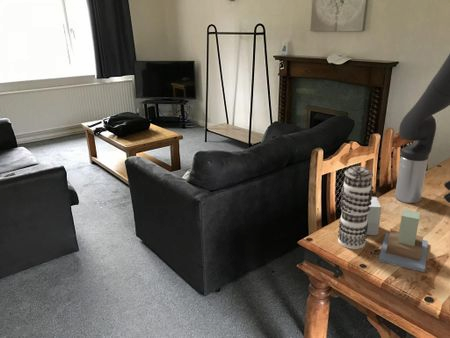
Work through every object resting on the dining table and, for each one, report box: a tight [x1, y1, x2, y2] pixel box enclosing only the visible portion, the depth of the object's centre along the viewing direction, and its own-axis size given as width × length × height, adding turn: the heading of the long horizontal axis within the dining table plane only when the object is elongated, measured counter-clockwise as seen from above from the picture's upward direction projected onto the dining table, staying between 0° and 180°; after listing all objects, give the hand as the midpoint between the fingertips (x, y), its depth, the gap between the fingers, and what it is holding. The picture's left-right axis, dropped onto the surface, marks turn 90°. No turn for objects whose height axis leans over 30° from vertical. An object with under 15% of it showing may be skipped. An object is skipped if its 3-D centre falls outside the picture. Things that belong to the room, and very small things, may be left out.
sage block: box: [397, 208, 421, 246], centre depth 107 cm, size 4×4×9 cm
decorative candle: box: [337, 165, 374, 250], centre depth 112 cm, size 9×9×25 cm
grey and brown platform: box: [378, 229, 428, 273], centre depth 109 cm, size 16×12×4 cm
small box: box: [366, 196, 382, 236], centre depth 121 cm, size 8×6×10 cm
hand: (446, 193), depth 99 cm, fingers open, 8 cm apart
